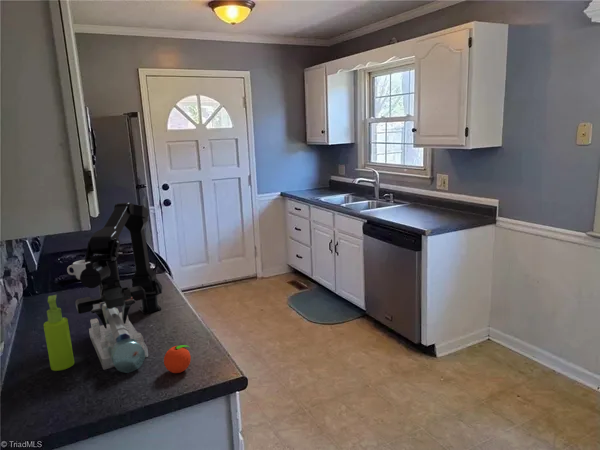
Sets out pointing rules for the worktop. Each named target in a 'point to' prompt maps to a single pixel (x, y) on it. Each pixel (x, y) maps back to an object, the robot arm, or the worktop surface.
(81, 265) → the cup
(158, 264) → the worktop surface
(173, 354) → the clementine
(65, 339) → the soap dispenser
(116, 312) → the electric toothbrush handle
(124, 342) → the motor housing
